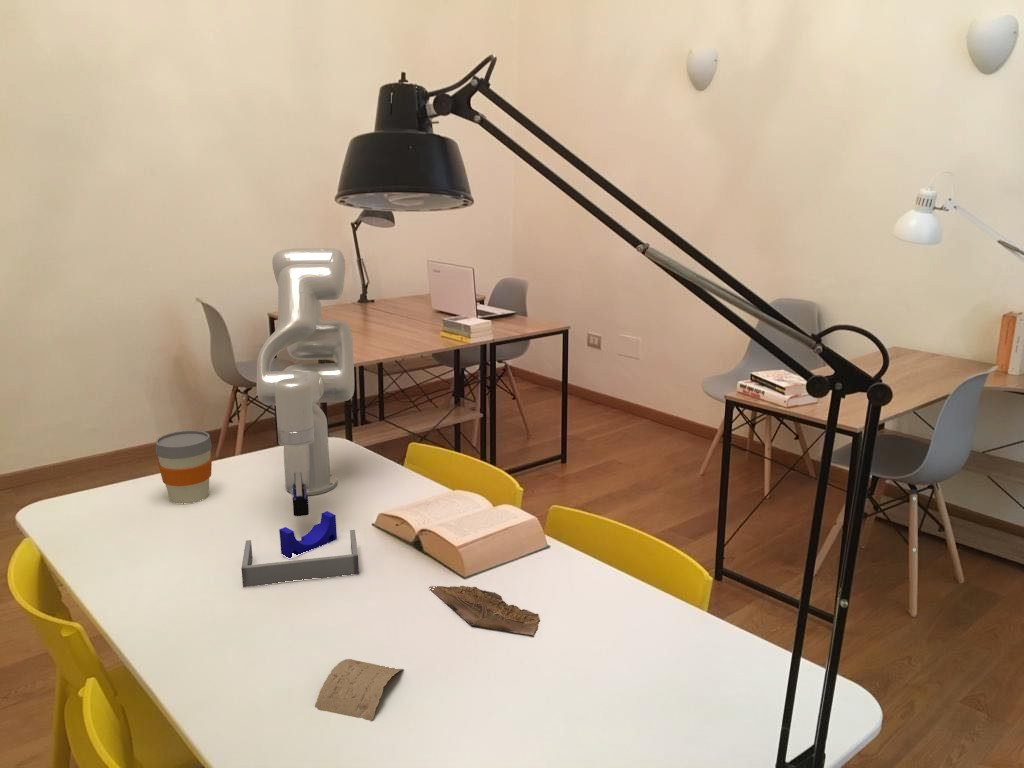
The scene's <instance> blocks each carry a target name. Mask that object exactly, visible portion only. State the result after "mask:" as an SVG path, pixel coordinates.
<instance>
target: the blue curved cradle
mask: <svg viewBox="0 0 1024 768" xmlns="http://www.w3.org/2000/svg"><path fill="white" fill-rule="evenodd" d="M320 515H321V516H320V517H321V518H320V521H319V523H317V524H314V525H313V526H312V528H311V529H310V530H309V531H308V532H307V533H306V534H304V535H302V536H301V537H300V538H301V539H300V540H297V538H296V535H295V531H294V530H292V529H291V528H288V527H286V526H284V527H282V528H279V529H278V530H279V531H278V532H279V543H280V544H279V545H280V555H281V554H283V555H285V556H286V557H288V558H291V557H292V553H294V554H296V555H298V554H301V553H303V552H306V551H308V552H310V551H309V550H311V549H313V550H315V549H314V548H316V549H318V548H320V547H323V546H325V545H327V543H328V544H330V543H332V542H334V541H335V542H336V541H337V540H338V535H337V534H338V533H337V517H336V516H337V515H336V514H334V513H332V512H330V511H328V510H326V511H324V512H322V513H321V514H320ZM322 545H323V546H322ZM319 546H320V547H319ZM317 547H318V548H317ZM311 551H312V550H311ZM306 553H307V552H306ZM301 555H302V554H301ZM286 557H285V558H286ZM288 558H287V559H288Z"/></svg>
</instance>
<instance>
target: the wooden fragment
mask: <svg viewBox="0 0 1024 768" xmlns="http://www.w3.org/2000/svg"><path fill="white" fill-rule="evenodd" d="M436 586H437V587H436ZM428 587H429V588H431V589H429V588H428V589H429V591H431V590H432V589H434V590H432V591H431V593H433V594H434V595H436V596H437V597H438V598H439V599H440V600H441V601H443V602H444V603H445V604H446V605H448V606H449V607H451V609H452V610H453V611H455V612H456V613H457V614H458V615H459V616H460V617H461V618H462V619H464V620H465V621H466V622H467V623H468V624H469V625H470V626H471V627H481V628H486V629H491V630H492V629H493V630H498V631H502V632H510V633H515V634H519V635H520V634H521V635H530V636H532V637H533V638H534V637H535V635H536V633H537V632H538V630H539V629H538V627H539V623H540V617H539V613H535V612H532V611H530V610H528V609H525V608H523V609H521V608H520V607H519V606H517V605H515V604H508V603H507V602H506V601H504V600H503V599H502V596H501V595H500V594H498V593H497V592H493V591H487V590H484V589H480V588H478V587H477V586H472V587H471V586H468V585H467V586H465V585H460V586H455V585H453V586H452V585H451V586H443V585H431V586H428ZM433 587H435V588H433ZM536 631H537V632H536Z"/></svg>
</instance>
